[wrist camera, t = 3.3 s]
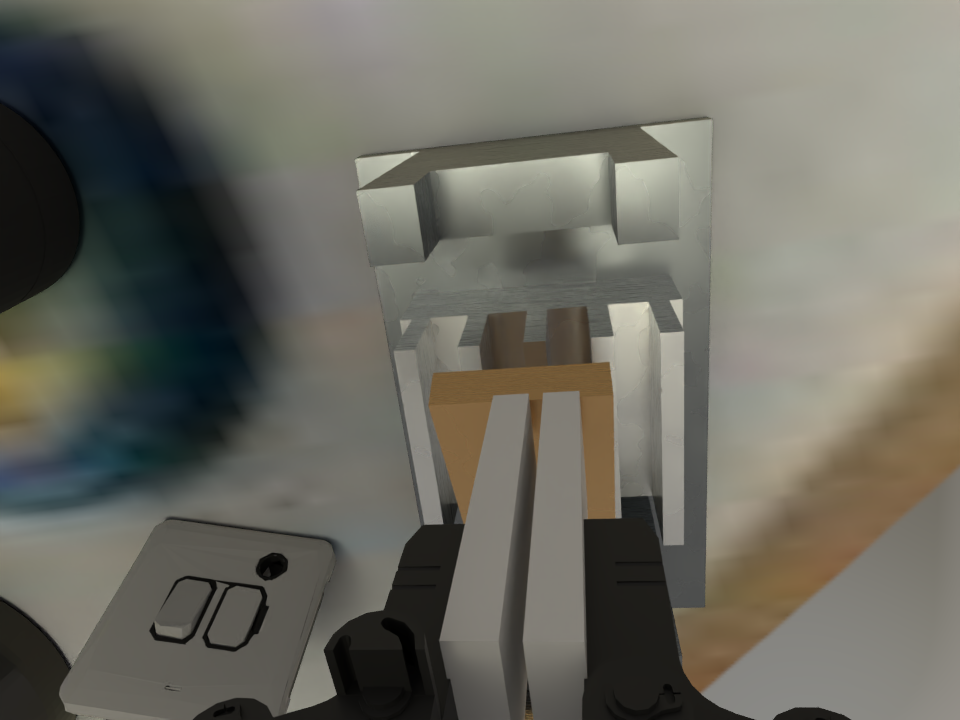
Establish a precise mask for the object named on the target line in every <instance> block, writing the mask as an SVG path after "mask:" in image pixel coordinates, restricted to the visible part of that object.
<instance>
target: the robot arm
mask: <svg viewBox="0 0 960 720" xmlns="http://www.w3.org/2000/svg"><path fill="white" fill-rule="evenodd" d="M324 653H325V656H326V660H327V663H328V666H329V669H330V673H331V676H332V679H333V683H334V686H335V689H336V692H337V695H336V696H334V697H333V698H331V699H329V700H328V701H325V702H322V703H320V704H317V705H315V706H312V707H308V708H305V709H301V710H298V711H294V712H290V713H287V714H283V715H280V716H276V717H273V716H272V714H271V712H270V710H269V708H268V706H267V705H265V704H263V703H261V702H260V701H258V700H256V699H254V698H233V699H230V700H226V701H223V702H219V703H216V704H215V705H213V706H211V707H210V708H208V709H206V710H205V711H203V712H201V713H200V714H198V715H197V716H196V717H195V718H194V719H193V720H525V707H526V693H527V679H528V684H529V691H530V698H531V706H532V713H533V720H754V719H751V718H748V717H745V716H742V715H738V714H735V713H733V712H731V711H728V710H726V709H723V708H721V707H719V706H717V705H715V704H714V703H712V702H711V701H709V700H708V699H706V698H705V697H704V696H702V695H701V694H700V693H699V692H698V691H697V690H696V689H695V688H694V687H693V686H692V684H691V683H690V681H689V680H688V678H687V677H686V675H685V674H684V672H683V669H682V666H681V662H680V659H679V654H678V648H677V642H676V636H675V630H674V625H673V619H672V613H671V607H670V601H669V596H668V590H667V586H666V578H665V572H664V566H663V561H662V555H661V549H660V543H659V538H658V536H657V535H656V534H655V533H654V531H653V530H652V529H651V528H650V526H649V525H648V524H647V523H646V521H645V520H644V519H643V518H613V519H588V509H587V489H586V475H585V462H584V448H583V434H582V420H581V407H580V393H579V391H567V392H548V393H543V401H542V413H541V425H540V437H539V450H538V462H537V465H536V456H535V447H534V438H533V429H532V419H531V410H530V401H529V394H511V395H493V400H492V404H491V409H490V413H489V418H488V422H487V427H486V431H485V436H484V440H483V445H482V449H481V454H480V458H479V463H478V468H477V472H476V477H475V481H474V486H473V490H472V495H471V499H470V504H469V508H468V513H467V517H466V522H465V524H433V525H422V526H421V528H420V529H419V530H418V531H417V532H416V533H415V534H414V535H413V536H412V538H411V539H410V540H409V541H408V542H407V543H406V544H405V547H404V550H403V553H402V556H401V559H400V563H399V566H398V571H397V572H396V575H395V578H394V581H393V584H392V590H390V593H389V596H388V599H387V602H386V605H385V608H384V610H382V611H376V612H370V613H366V614H364V615H361V616H359V617H357V618H355V619H353V620H351V621H348V622H347V623H346V624H345V625H344V626H343V627H341V628H340V629H339V630H338V631H337V632H335V633H334V634H333V636H332V637H331V639H330V641H329V642H328V644H327V645H326V647H325V649H324ZM68 673H69V669H68V667H67V665H66V663H65V662H64V660H63V658H62V657H61V655H60V654H59V652H58V651H57V650H56V648H55V647H54V646H53V645H52V643H51V642H50V641H49V640H48V639H47V638H46V637H45V635H44V634H43V633H42V632H41V631H40V630H39V629H38V628H36V627H35V626H34V625H33V624H32V623H31V622H30V621H29V620H27V619H26V618H25V617H24V616H22V615H21V614H20V613H18V612H17V611H16V610H14V609H13V608H11V607H10V606H8V605H7V604H5V603H4V602H2V601H0V720H75V718H76V714H72V713H70V712H67V711H65V706H64V704H63V702H62V700H61V698H60V696H59V692H60V686H61V685H62V683H63V681H64V680H65V678H66V676H67V675H68ZM773 720H851V719H849V718H847V717H846V716H844V715H842V714H838V713H835V712H832V711H828V710H825V709H822V708H793V709H791V710H788V711H786V712H783V713H781V714H778V715H777V716H776V717H775V718H774V719H773Z"/></svg>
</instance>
